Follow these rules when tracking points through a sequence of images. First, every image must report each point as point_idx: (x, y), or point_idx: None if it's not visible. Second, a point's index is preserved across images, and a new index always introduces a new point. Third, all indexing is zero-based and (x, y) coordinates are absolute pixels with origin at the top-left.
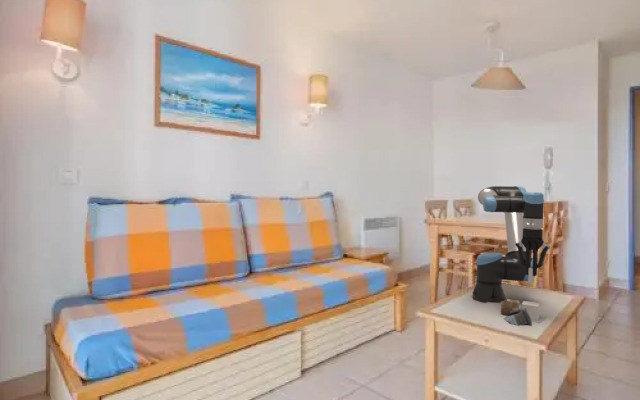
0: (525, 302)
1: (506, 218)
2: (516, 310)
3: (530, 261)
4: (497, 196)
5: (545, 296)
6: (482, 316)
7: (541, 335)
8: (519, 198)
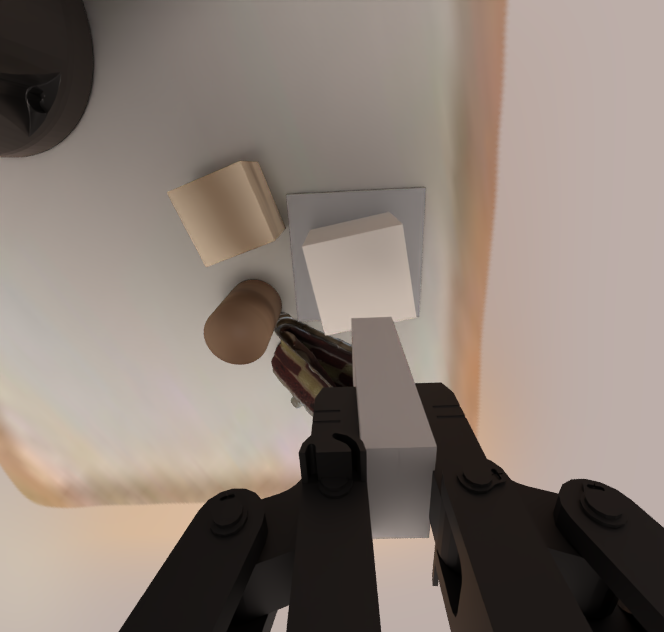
0: (327, 285)
1: None
2: (319, 374)
3: (377, 620)
4: None
5: None
6: (196, 394)
7: None
8: None
